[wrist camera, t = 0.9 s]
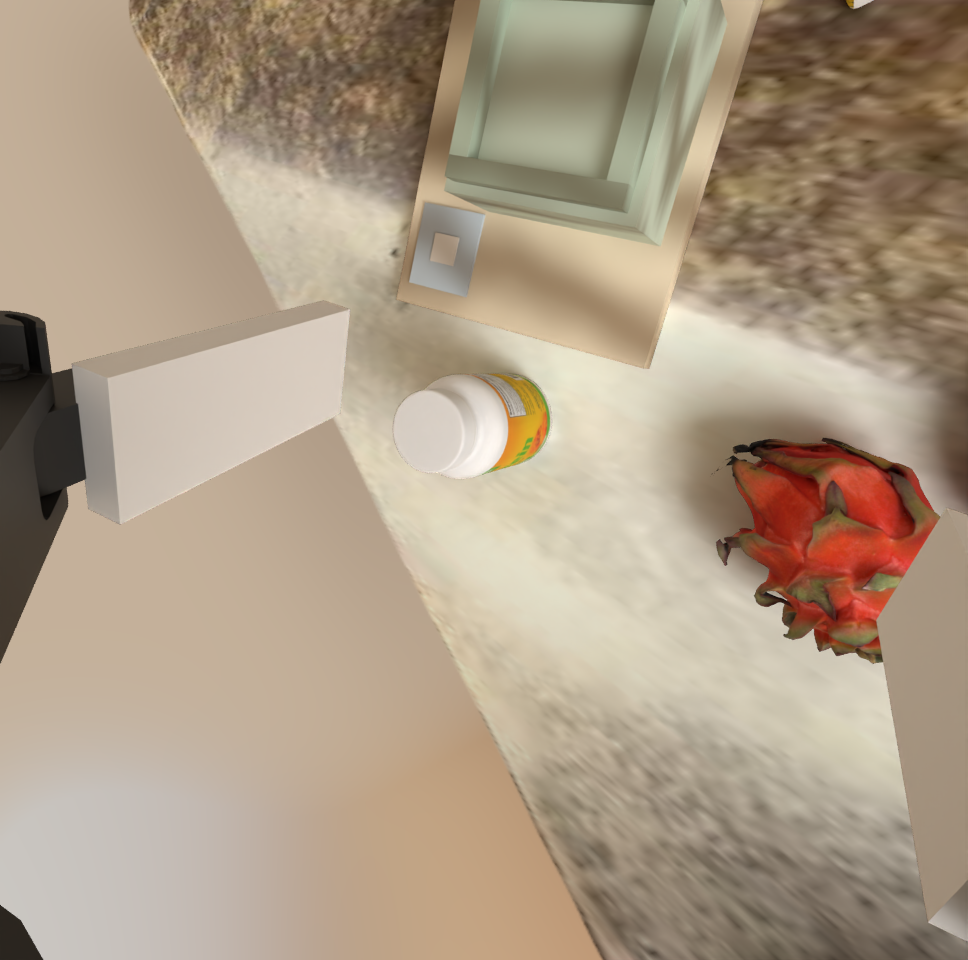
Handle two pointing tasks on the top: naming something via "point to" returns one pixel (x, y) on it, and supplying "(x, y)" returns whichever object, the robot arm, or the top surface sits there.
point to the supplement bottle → (472, 424)
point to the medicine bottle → (857, 3)
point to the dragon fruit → (830, 536)
